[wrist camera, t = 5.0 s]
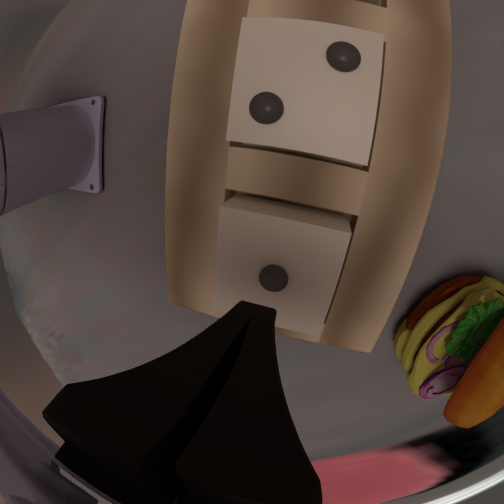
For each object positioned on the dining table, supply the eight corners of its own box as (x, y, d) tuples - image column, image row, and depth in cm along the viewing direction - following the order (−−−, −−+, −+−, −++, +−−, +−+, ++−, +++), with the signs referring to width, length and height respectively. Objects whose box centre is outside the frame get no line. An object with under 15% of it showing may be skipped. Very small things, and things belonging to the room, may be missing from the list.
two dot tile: (242, 139, 13) (224, 140, 11) (256, 34, 11) (241, 15, 8) (360, 160, 12) (367, 166, 10) (374, 50, 9) (384, 33, 7)
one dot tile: (227, 286, 17) (211, 311, 15) (236, 193, 15) (218, 206, 12) (321, 309, 16) (318, 338, 14) (347, 216, 13) (351, 235, 11)
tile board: (186, 280, 21) (167, 301, 18) (227, -64, 8) (212, -83, 6) (367, 324, 18) (370, 352, 16) (425, -40, 6) (436, -59, 3)
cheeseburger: (393, 270, 16) (481, 376, 7) (496, 244, 15) (579, 303, 6) (381, 375, 20) (419, 471, 10) (473, 341, 19) (523, 409, 9)
